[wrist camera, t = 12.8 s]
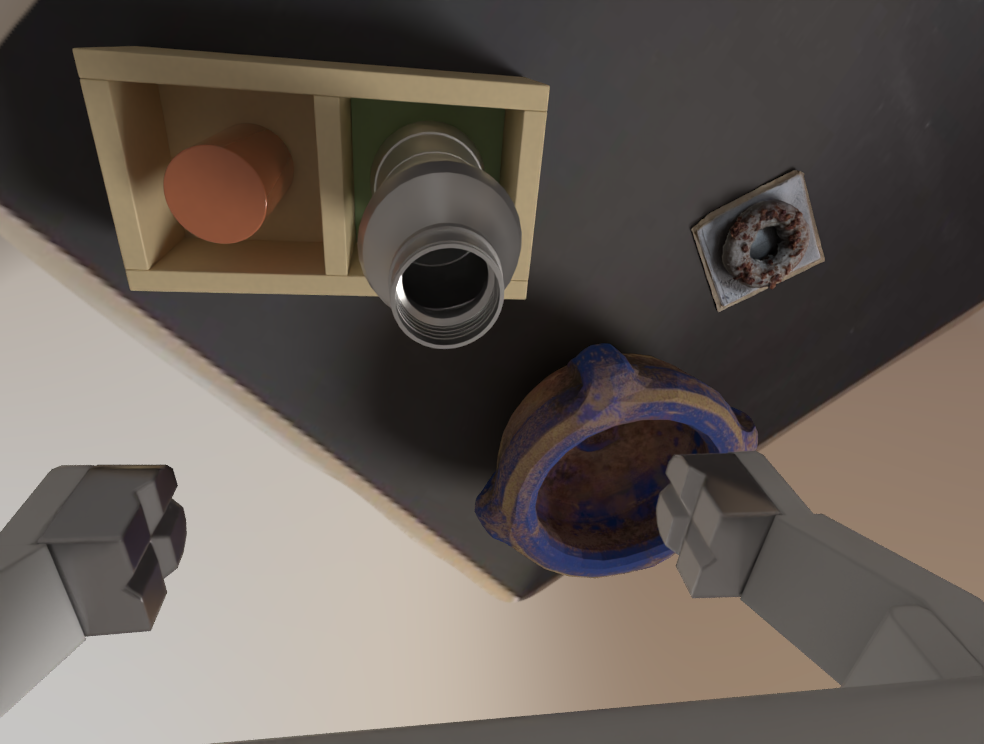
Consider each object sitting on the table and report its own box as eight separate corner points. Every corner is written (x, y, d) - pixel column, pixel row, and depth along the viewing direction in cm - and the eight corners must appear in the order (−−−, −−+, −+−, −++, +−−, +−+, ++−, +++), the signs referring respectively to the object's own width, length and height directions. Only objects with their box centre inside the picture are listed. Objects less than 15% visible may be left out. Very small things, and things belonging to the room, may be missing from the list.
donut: (803, 164, 40) (821, 170, 38) (822, 260, 44) (839, 270, 42) (688, 223, 41) (701, 231, 39) (717, 312, 45) (730, 323, 43)
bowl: (608, 527, 55) (646, 619, 46) (442, 457, 48) (450, 548, 39) (741, 382, 48) (814, 457, 40) (570, 278, 42) (613, 341, 33)
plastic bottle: (348, 169, 35) (293, 297, 18) (432, 88, 33) (460, 142, 16) (423, 247, 38) (437, 421, 21) (502, 176, 36) (590, 300, 19)
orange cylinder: (206, 120, 33) (153, 141, 26) (290, 125, 34) (261, 148, 27) (218, 202, 35) (172, 242, 28) (297, 205, 36) (272, 246, 29)
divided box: (134, 45, 32) (70, 47, 26) (525, 77, 35) (550, 85, 29) (174, 250, 37) (129, 291, 31) (508, 260, 40) (526, 300, 34)
